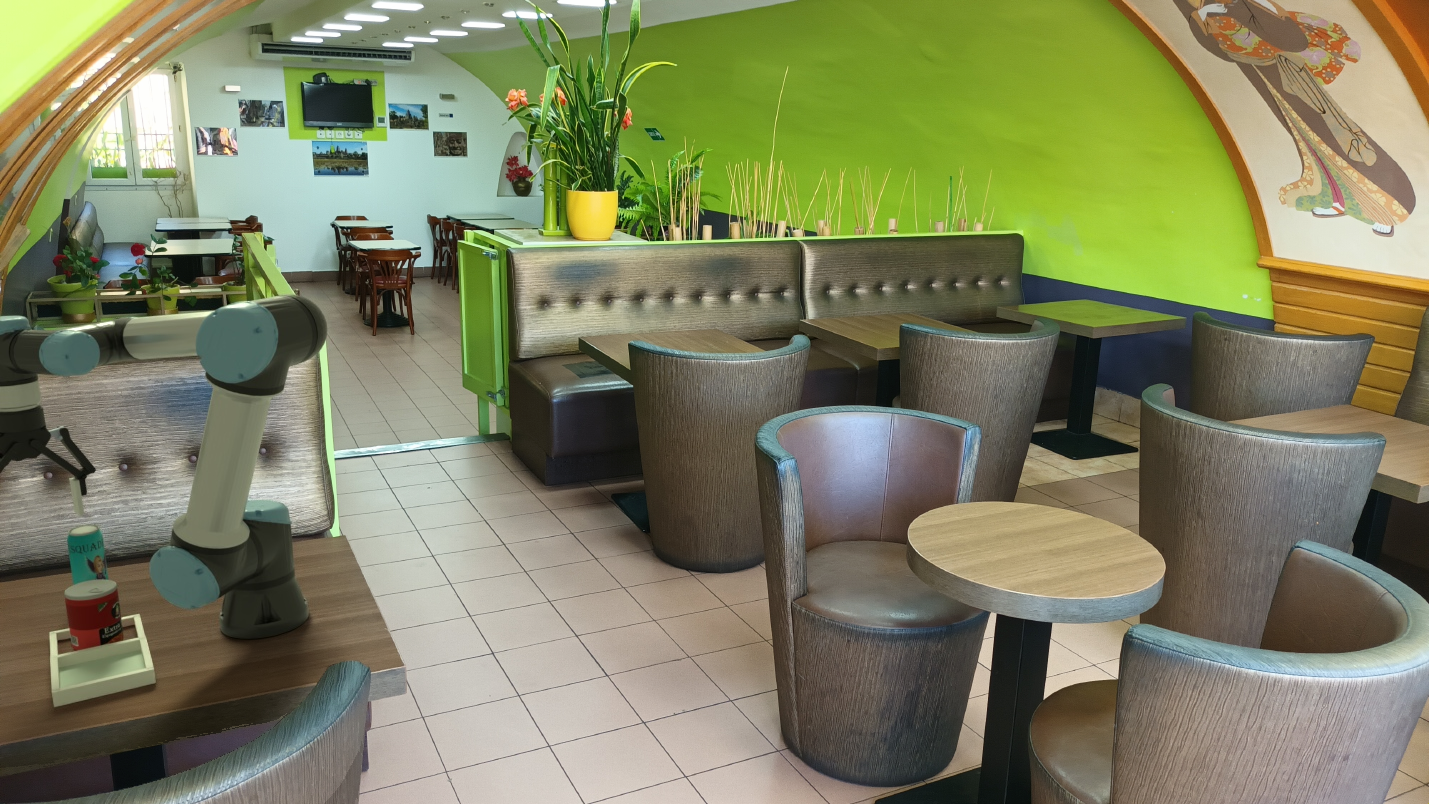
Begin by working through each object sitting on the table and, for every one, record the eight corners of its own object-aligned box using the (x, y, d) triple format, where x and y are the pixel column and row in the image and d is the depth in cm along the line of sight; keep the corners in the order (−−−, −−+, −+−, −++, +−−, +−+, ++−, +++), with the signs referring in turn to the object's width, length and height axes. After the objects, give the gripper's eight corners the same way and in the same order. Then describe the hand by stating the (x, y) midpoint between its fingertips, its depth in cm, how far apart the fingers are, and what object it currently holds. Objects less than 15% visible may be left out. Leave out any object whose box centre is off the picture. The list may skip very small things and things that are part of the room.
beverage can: (94, 609, 189) (84, 535, 186) (69, 606, 190) (58, 533, 187) (118, 597, 195) (108, 525, 191) (93, 594, 196) (83, 522, 192)
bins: (155, 682, 163) (154, 668, 162) (54, 707, 155) (51, 692, 155) (140, 621, 185) (138, 608, 184) (50, 639, 177) (48, 627, 176)
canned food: (111, 655, 172) (103, 596, 169) (62, 656, 171) (54, 597, 169) (133, 635, 179) (125, 578, 177) (86, 636, 179) (78, 579, 176)
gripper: (89, 391, 182) (106, 501, 187) (-80, 416, 164) (-56, 538, 168) (104, 397, 177) (121, 510, 182) (-68, 423, 159) (-44, 548, 164)
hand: (36, 523), depth 175 cm, fingers open, 13 cm apart
